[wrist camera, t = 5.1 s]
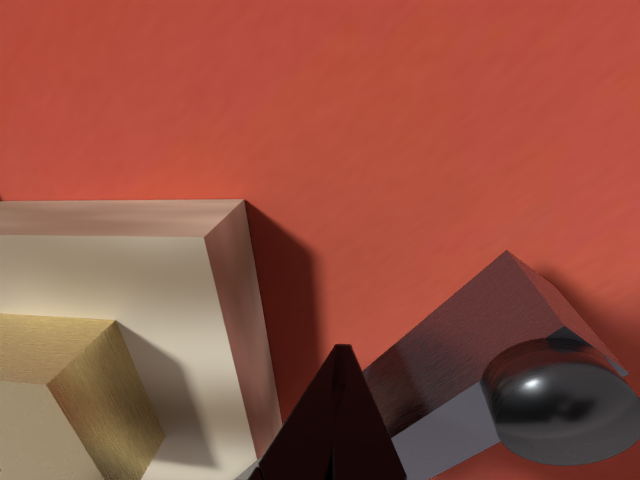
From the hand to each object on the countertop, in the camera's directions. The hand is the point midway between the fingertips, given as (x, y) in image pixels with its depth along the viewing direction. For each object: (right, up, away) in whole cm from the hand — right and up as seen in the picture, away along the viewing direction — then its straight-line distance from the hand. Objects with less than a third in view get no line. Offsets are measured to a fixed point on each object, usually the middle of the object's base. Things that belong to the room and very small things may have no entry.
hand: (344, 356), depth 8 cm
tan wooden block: (-9, -2, +4) cm, 10 cm away
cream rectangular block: (-8, -3, +7) cm, 11 cm away
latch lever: (0, -3, +3) cm, 4 cm away
